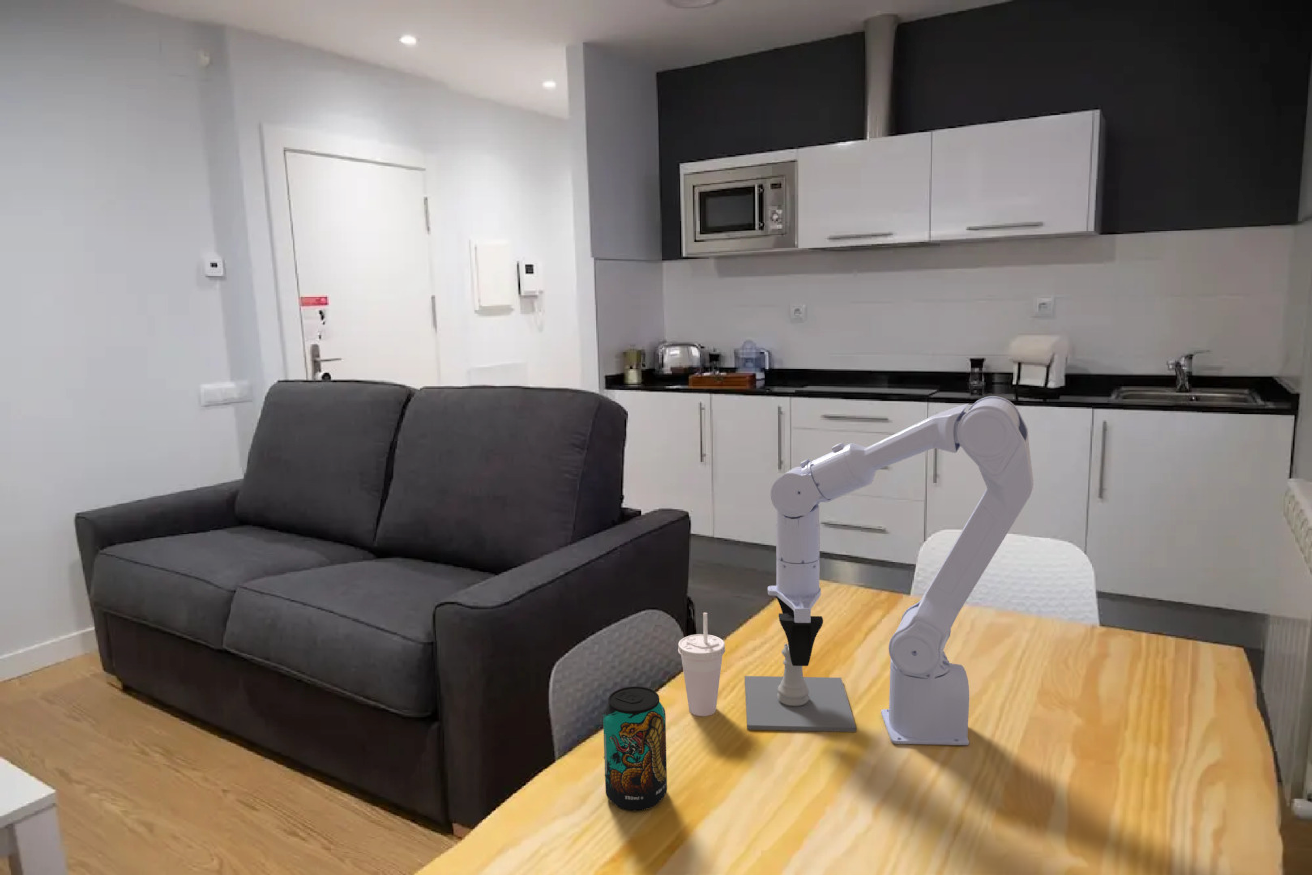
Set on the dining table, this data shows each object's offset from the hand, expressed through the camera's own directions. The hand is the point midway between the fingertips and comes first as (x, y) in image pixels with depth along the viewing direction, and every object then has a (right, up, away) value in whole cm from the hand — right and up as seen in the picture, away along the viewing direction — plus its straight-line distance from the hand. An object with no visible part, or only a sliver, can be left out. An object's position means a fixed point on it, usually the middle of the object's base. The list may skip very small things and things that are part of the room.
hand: (797, 652), depth 113 cm
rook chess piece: (0, -7, +1) cm, 7 cm away
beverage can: (-22, -12, -18) cm, 31 cm away
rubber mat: (0, -8, +1) cm, 8 cm away
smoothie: (-13, -8, +1) cm, 15 cm away
